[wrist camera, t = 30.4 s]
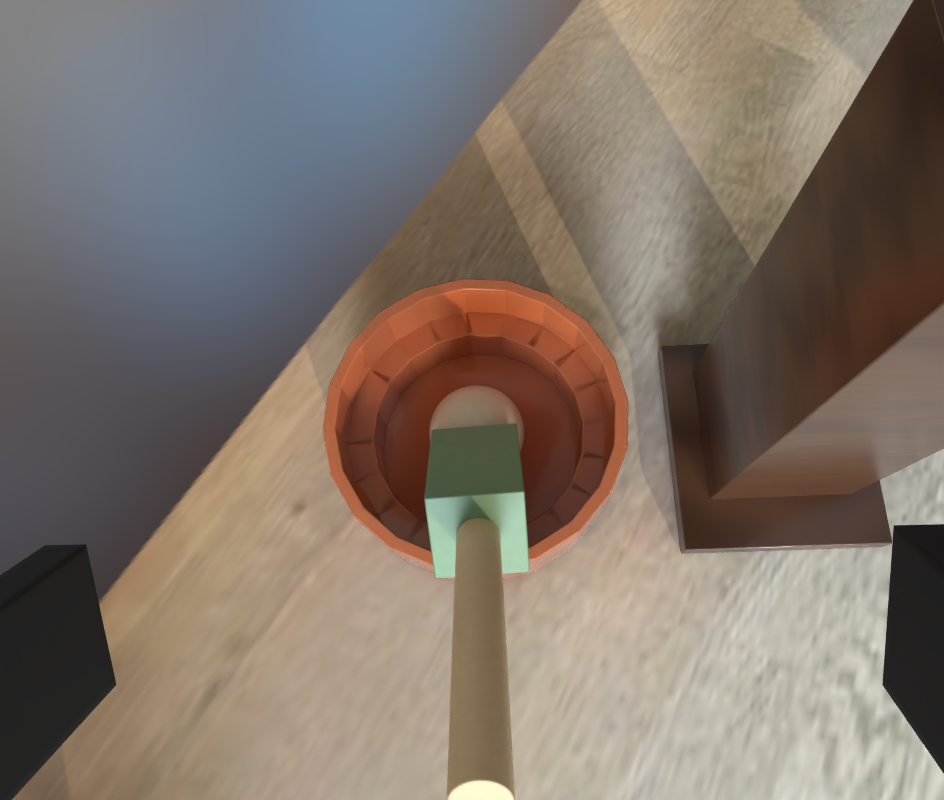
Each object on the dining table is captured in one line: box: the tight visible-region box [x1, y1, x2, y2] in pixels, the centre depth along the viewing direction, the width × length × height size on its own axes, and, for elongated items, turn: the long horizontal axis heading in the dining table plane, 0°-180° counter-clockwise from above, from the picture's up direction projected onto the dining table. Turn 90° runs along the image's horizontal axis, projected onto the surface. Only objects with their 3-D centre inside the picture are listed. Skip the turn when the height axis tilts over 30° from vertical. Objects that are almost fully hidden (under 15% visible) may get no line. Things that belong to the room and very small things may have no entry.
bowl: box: [323, 279, 628, 580], centre depth 38 cm, size 14×14×6 cm
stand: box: [658, 0, 944, 554], centre depth 26 cm, size 13×10×28 cm
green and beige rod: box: [424, 386, 530, 800], centre depth 30 cm, size 23×5×5 cm
